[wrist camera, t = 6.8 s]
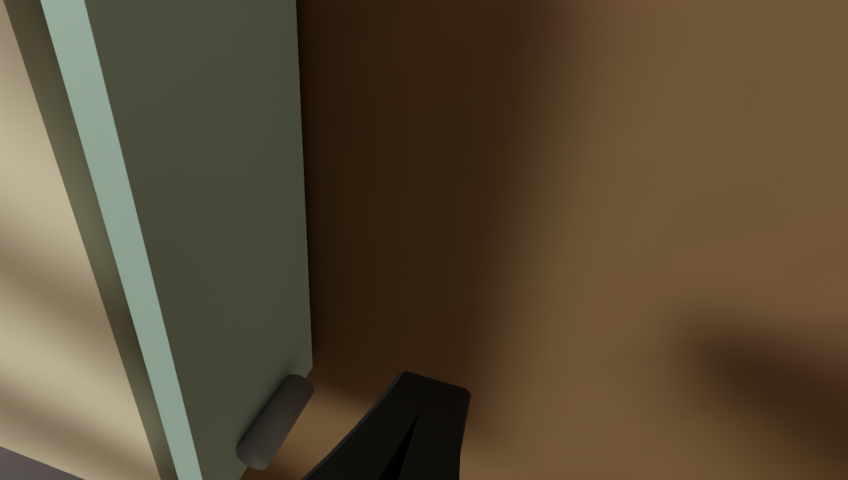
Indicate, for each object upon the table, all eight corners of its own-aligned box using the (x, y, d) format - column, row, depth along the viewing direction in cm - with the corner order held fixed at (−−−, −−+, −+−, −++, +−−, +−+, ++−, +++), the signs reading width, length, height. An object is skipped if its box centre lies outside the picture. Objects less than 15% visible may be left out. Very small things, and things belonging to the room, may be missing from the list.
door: (338, 375, 20) (244, 532, 16) (285, 358, 21) (178, 507, 16) (333, -157, 11) (111, -163, 7) (240, -167, 12) (-30, -179, 7)
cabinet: (286, 355, 21) (172, 513, 16) (86, 293, 23) (-73, 417, 18) (238, -173, 12) (-60, -192, 7) (-86, -204, 14) (-504, -236, 9)
